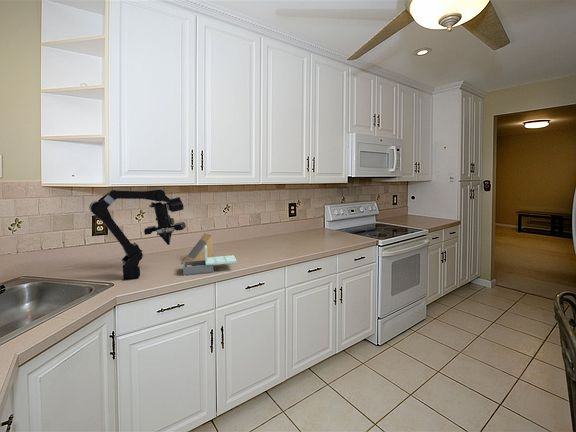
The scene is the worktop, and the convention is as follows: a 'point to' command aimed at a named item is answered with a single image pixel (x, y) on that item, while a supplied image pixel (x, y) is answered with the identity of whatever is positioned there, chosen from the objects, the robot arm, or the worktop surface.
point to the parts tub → (196, 267)
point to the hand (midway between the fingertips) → (168, 244)
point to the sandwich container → (201, 249)
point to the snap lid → (219, 259)
